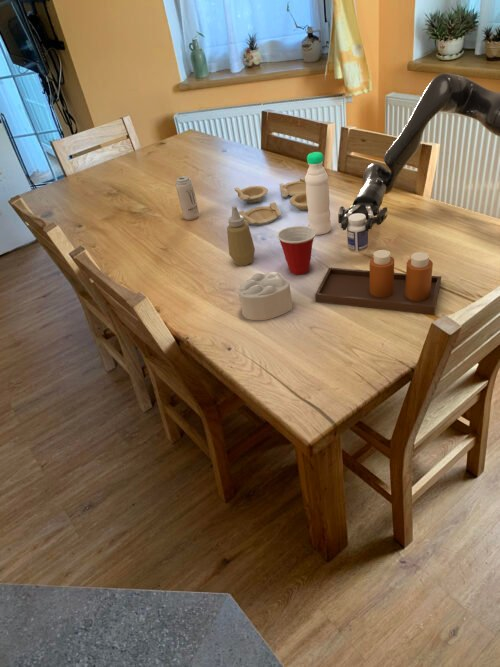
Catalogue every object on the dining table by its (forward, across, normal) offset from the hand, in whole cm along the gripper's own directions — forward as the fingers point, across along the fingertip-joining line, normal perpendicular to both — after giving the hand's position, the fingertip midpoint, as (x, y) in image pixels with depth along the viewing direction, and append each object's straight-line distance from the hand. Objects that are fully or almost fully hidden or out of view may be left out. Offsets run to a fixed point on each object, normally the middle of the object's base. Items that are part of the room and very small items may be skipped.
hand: (355, 227), depth 135 cm
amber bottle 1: (+13, +10, +11) cm, 20 cm away
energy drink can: (-24, -67, +11) cm, 72 cm away
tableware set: (-38, -37, +12) cm, 54 cm away
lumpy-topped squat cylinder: (+25, -18, +12) cm, 33 cm away
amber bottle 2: (+13, +19, +11) cm, 25 cm away
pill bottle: (-2, 0, +8) cm, 9 cm away
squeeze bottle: (+3, -34, +11) cm, 36 cm away
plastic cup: (+5, -15, +12) cm, 20 cm away
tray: (+13, +9, +12) cm, 20 cm away
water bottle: (-19, -16, +12) cm, 27 cm away
